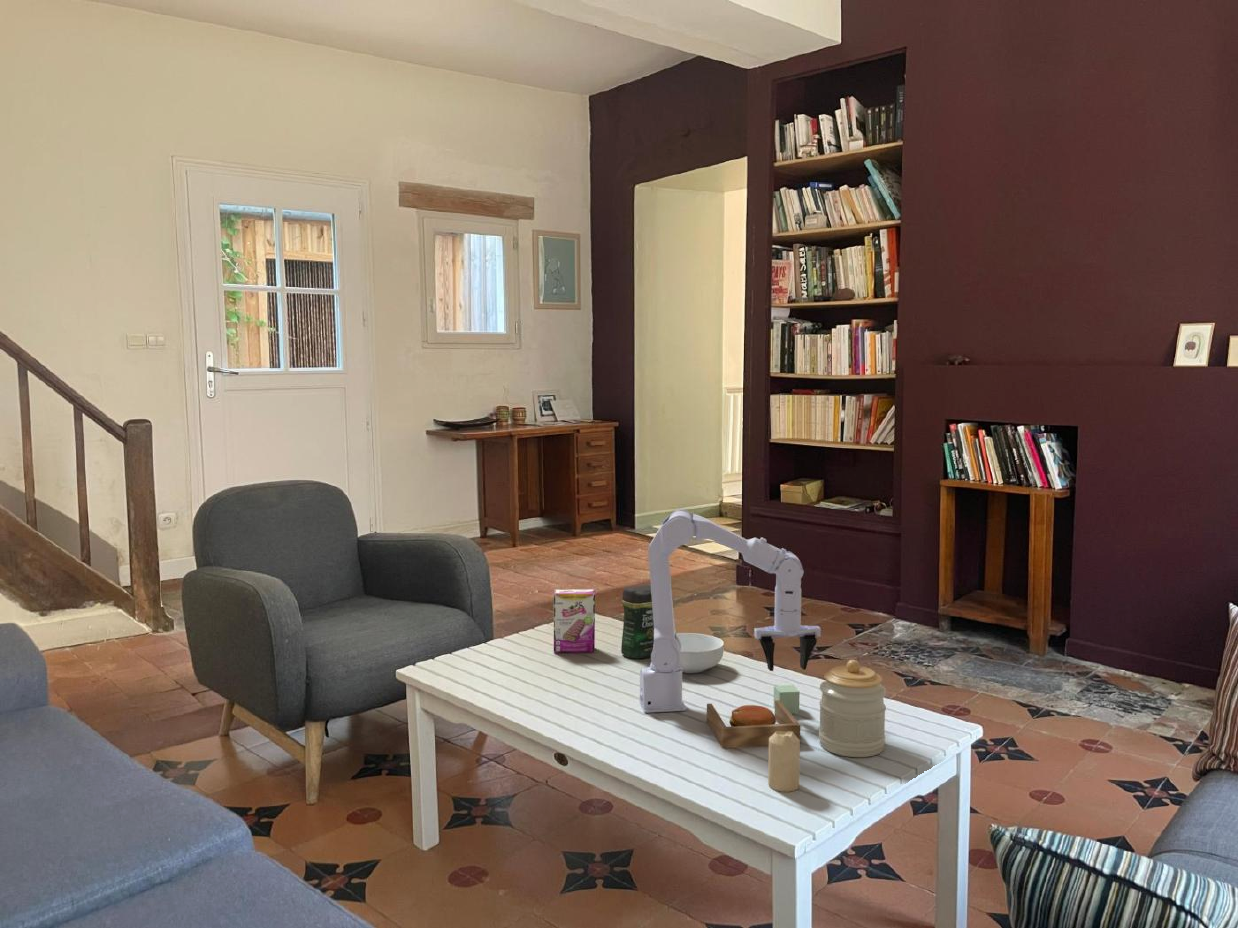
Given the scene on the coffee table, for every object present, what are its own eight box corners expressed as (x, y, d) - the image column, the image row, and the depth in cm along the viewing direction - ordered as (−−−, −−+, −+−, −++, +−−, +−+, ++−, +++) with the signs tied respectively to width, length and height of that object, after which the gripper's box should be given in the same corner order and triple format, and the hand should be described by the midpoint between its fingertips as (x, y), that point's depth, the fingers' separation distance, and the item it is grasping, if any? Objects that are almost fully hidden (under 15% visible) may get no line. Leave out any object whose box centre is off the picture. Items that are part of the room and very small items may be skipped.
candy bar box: (553, 653, 252) (553, 593, 250) (553, 648, 256) (553, 589, 255) (595, 652, 252) (595, 592, 251) (594, 647, 257) (594, 588, 256)
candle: (795, 778, 174) (796, 726, 173) (802, 791, 169) (803, 737, 168) (765, 779, 174) (766, 726, 173) (771, 792, 169) (772, 738, 168)
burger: (784, 735, 195) (784, 713, 195) (745, 742, 192) (745, 720, 191) (759, 719, 204) (759, 698, 204) (721, 726, 201) (721, 704, 200)
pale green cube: (779, 714, 207) (779, 692, 206) (773, 707, 211) (773, 685, 211) (799, 713, 207) (799, 691, 207) (792, 706, 212) (793, 684, 211)
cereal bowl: (710, 682, 228) (710, 654, 227) (647, 673, 235) (647, 645, 234) (732, 663, 243) (733, 636, 242) (673, 655, 250) (673, 629, 250)
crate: (722, 748, 188) (722, 728, 188) (706, 721, 203) (706, 703, 202) (800, 744, 190) (800, 724, 190) (779, 717, 205) (779, 700, 204)
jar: (899, 750, 187) (901, 663, 185) (850, 763, 181) (852, 674, 179) (852, 728, 198) (854, 647, 197) (805, 740, 192) (806, 656, 190)
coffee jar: (635, 661, 244) (635, 591, 243) (616, 654, 251) (616, 585, 249) (663, 654, 250) (663, 586, 249) (644, 647, 257) (644, 580, 255)
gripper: (760, 614, 202) (759, 675, 204) (825, 611, 204) (824, 673, 205) (751, 606, 209) (751, 665, 211) (815, 603, 211) (814, 663, 212)
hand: (786, 668), depth 208 cm, fingers open, 7 cm apart
